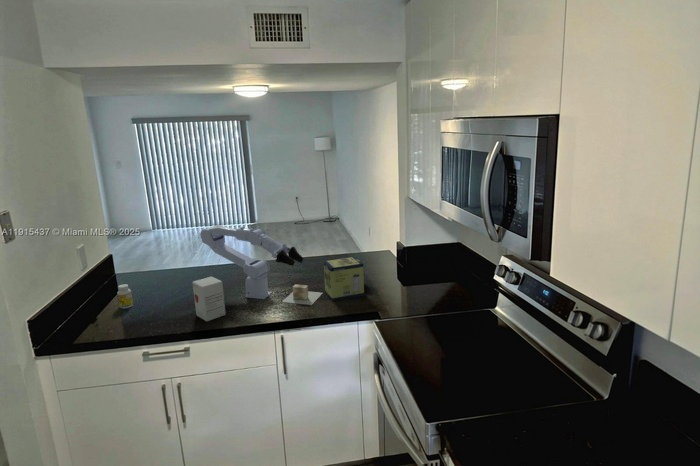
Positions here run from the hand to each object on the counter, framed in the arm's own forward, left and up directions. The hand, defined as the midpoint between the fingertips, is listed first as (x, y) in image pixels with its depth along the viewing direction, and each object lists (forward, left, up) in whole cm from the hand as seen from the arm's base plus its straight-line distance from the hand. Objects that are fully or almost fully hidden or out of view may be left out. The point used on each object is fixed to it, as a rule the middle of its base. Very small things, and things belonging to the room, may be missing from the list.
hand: (298, 262), depth 193 cm
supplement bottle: (-73, -22, -19) cm, 79 cm away
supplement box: (-31, -21, -19) cm, 42 cm away
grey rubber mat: (-1, +5, -18) cm, 19 cm away
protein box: (+16, +13, -19) cm, 28 cm away
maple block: (-1, +3, -18) cm, 18 cm away
